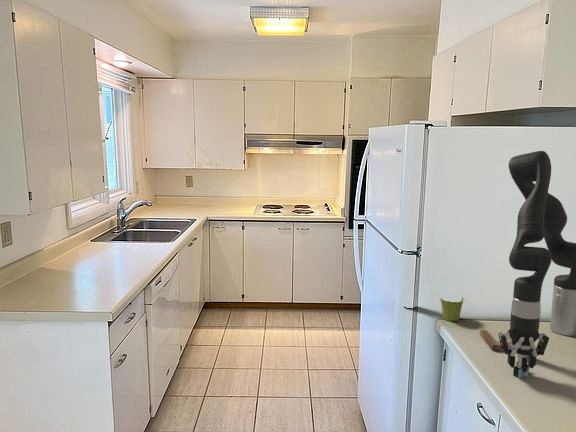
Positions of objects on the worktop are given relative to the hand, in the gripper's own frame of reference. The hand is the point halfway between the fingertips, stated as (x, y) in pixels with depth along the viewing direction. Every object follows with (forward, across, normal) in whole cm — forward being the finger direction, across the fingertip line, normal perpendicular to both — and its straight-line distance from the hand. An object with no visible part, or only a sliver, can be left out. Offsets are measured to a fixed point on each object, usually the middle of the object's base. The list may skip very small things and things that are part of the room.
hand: (521, 366), depth 131 cm
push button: (+3, -1, 0) cm, 3 cm away
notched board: (+3, -3, -21) cm, 22 cm away
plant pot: (+3, +9, -42) cm, 43 cm away
